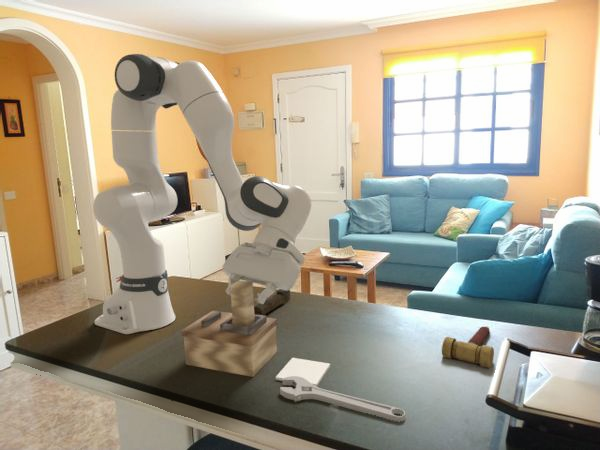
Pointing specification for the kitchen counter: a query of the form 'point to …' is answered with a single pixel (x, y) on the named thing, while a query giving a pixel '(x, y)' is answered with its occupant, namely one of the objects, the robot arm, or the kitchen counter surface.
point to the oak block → (242, 303)
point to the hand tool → (272, 302)
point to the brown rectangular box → (230, 343)
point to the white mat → (304, 370)
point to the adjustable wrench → (337, 399)
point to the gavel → (470, 349)
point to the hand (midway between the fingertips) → (243, 298)
